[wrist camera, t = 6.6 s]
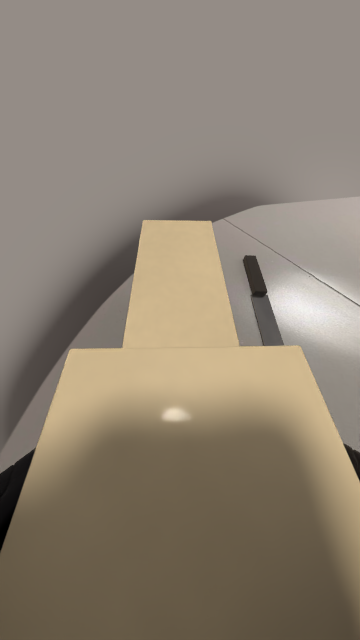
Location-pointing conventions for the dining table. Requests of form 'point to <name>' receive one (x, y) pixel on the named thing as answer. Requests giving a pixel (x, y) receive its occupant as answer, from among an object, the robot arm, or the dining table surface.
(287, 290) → the dining table surface
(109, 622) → the cake slice
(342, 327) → the dining table surface
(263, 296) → the cake knife
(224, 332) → the cake
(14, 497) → the robot arm
